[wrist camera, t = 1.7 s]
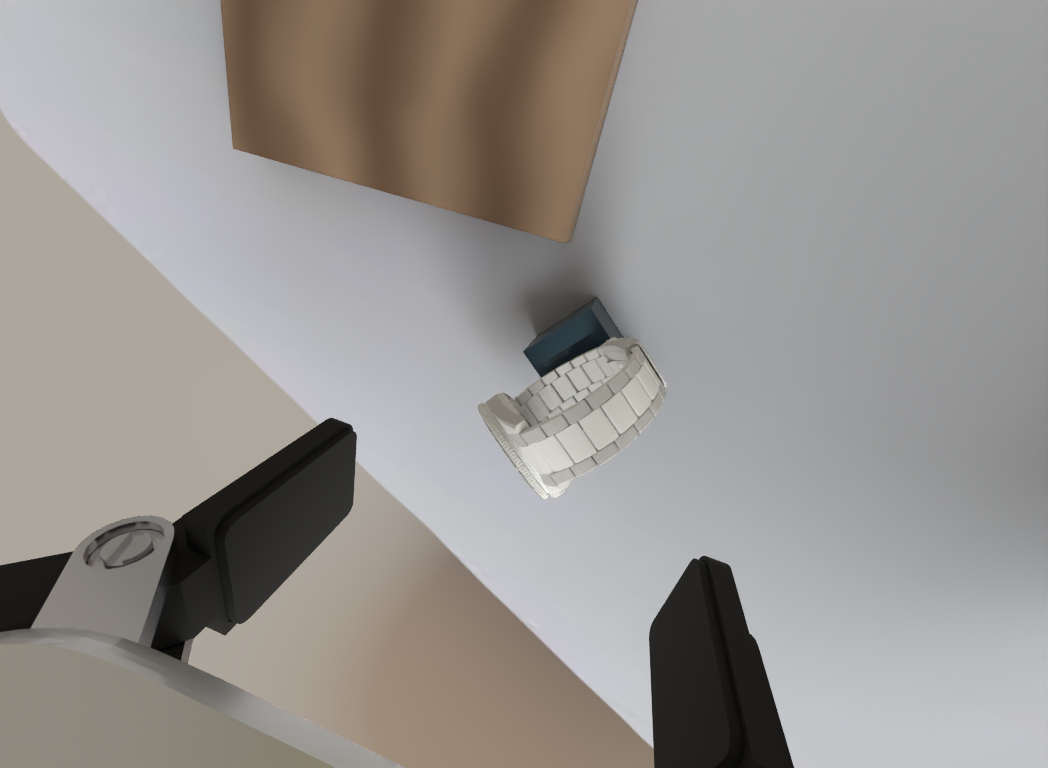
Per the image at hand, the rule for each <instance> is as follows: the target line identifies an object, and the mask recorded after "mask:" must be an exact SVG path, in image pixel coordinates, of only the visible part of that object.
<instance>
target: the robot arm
mask: <svg viewBox="0 0 1048 768" xmlns="http://www.w3.org/2000/svg"><path fill="white" fill-rule="evenodd" d="M356 440H357V435H356V433H355V432H353V427H352V425H350V424H347V423H345V422H342V421H339V420H337V419H334V418H329V419H327V420H325V421H324V422H322V423H321V424H319V425H318V426H316V427H315V428H313V429H312V430H310V431H309V432H307V433H306V434H304V435H303V436H301V437H300V438H298V439H297V440H296V441H294V442H292V443H291V444H289V445H288V446H286V447H285V448H283V449H282V450H280V451H279V452H277V453H276V454H274V455H273V456H271V457H270V458H268V459H267V460H265V461H264V462H262V463H261V464H259V465H258V466H256V467H255V468H253V469H252V470H250V471H249V472H247V473H246V474H244V475H243V476H241V477H240V478H239V479H237V480H235V481H234V482H232V483H231V484H229V485H228V486H226V487H225V488H223V489H222V490H220V491H219V492H217V493H216V494H214V495H213V496H211V497H210V498H208V499H207V500H205V501H204V502H202V503H201V504H199V505H198V506H196V507H195V508H193V509H192V510H190V511H189V512H187V513H186V514H184V515H183V516H182V517H181V518H180V519H178V520H177V521H175V522H174V523H173V524H171V522H170V521H168V520H166V519H164V518H162V517H156V516H137V517H132V518H127V519H122V520H120V521H117V522H114V523H111V524H109V525H106V526H105V527H103V528H101V529H99V530H97V531H95V532H93V533H92V534H91V535H89V536H88V537H87V538H86V539H84V540H83V541H82V542H81V543H80V544H79V545H78V547H77V548H76V549H75V550H74V551H73V552H68V553H63V554H58V555H52V556H47V557H42V558H37V559H32V560H27V561H21V562H16V563H11V564H6V565H1V566H0V768H405V767H403V766H401V765H399V764H397V763H394V762H392V761H391V760H389V759H386V758H384V757H382V756H380V755H378V754H376V753H374V752H372V751H370V750H368V749H366V748H364V747H362V746H360V745H357V744H355V743H353V742H351V741H349V740H347V739H345V738H343V737H341V736H339V735H337V734H335V733H333V732H331V731H328V730H326V729H324V728H322V727H320V726H318V725H316V724H314V723H312V722H310V721H308V720H306V719H304V718H301V717H299V716H297V715H295V714H293V713H291V712H289V711H287V710H285V709H283V708H280V707H278V706H276V705H274V704H272V703H270V702H268V701H266V700H264V699H262V698H259V697H257V696H255V695H253V694H251V693H249V692H247V691H245V690H243V689H241V688H239V687H236V686H234V685H232V684H230V683H228V682H226V681H224V680H222V679H220V678H217V677H215V676H213V675H211V674H209V673H206V672H204V671H202V670H199V669H197V668H195V667H193V666H191V665H188V661H189V656H190V652H191V648H192V643H193V639H194V638H195V637H196V636H197V635H198V634H199V633H200V632H201V631H202V630H203V629H204V628H205V627H208V628H210V629H212V630H214V631H217V632H219V633H221V634H223V635H226V634H227V633H228V632H229V631H230V630H231V629H232V628H233V627H234V626H235V625H236V624H237V623H238V624H241V623H244V622H245V621H247V620H248V619H249V618H250V617H251V616H252V615H253V614H254V613H255V612H256V611H257V610H258V609H259V608H260V607H261V606H262V604H263V603H264V602H265V601H266V600H267V599H268V598H269V597H270V596H271V595H272V594H273V593H274V592H275V591H276V590H277V589H278V588H279V587H280V586H281V584H282V583H283V582H284V581H285V580H286V579H287V578H288V577H289V576H290V575H291V574H292V573H293V572H294V571H295V570H296V569H297V567H299V566H300V564H301V563H302V562H303V561H304V560H305V559H306V558H307V557H308V556H309V555H310V554H311V553H312V552H313V551H314V550H315V549H316V548H317V547H318V545H320V544H321V542H322V541H323V540H324V539H325V538H326V537H327V536H328V535H329V534H330V533H331V532H332V531H333V530H334V529H335V527H337V526H338V525H339V524H340V522H341V521H342V520H343V519H344V518H345V517H346V516H347V515H348V514H349V512H350V510H351V508H352V505H353V495H354V476H355V458H356ZM649 645H650V669H651V693H652V717H653V741H654V766H655V768H794V766H793V763H792V759H791V756H790V753H789V749H788V746H787V742H786V739H785V736H784V732H783V729H782V725H781V722H780V719H779V715H778V712H777V708H776V705H775V702H774V698H773V695H772V691H771V688H770V685H769V681H768V678H767V674H766V671H765V668H764V664H763V661H762V657H761V654H760V651H759V647H758V645H757V642H756V640H755V639H754V637H753V636H752V635H751V634H749V631H748V627H747V624H746V620H745V616H744V613H743V609H742V606H741V602H740V599H739V595H738V592H737V588H736V584H735V581H734V577H733V574H732V570H731V568H730V566H729V565H728V564H726V563H723V562H720V561H718V560H715V559H712V558H709V557H707V556H702V557H701V558H700V559H699V560H697V559H692V561H691V562H690V563H689V565H688V567H687V568H686V570H685V571H684V573H683V575H682V576H681V578H680V579H679V581H678V583H677V584H676V586H675V587H674V589H673V591H672V592H671V594H670V595H669V597H668V598H667V600H666V602H665V603H664V605H663V606H662V608H661V610H660V611H659V613H658V614H657V616H656V618H655V619H654V621H653V623H652V625H651V628H650V634H649Z"/></svg>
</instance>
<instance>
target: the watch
mask: <svg viewBox="0 0 1048 768" xmlns="http://www.w3.org/2000/svg"><path fill="white" fill-rule="evenodd" d="M523 352H524V354H525V355H526V357H527V358H528V360H529V361H530V362H531V364H532V365H533V367H534V368H535V370H536V371H537V372H538V374H539V375H540V377H541V378H540V379H541V380H542V381H541V380H540V379H539V380H538V381H536V382H535V383H533V384H532V385H530V386H529V387H528V388H527V389H526V390H524V391H523V392H522V393H520V394H519V395H518V396H517V397H515V398H514V400H513V399H512V398H511V397H510V396H508V395H507V394H505V393H500V394H497V395H495V396H494V397H492V398H491V399H490V400H488V401H487V402H486V403H485V404H483V403H481V404H480V405H478V410H479V412H480V414H481V416H482V418H483V420H484V422H485V424H486V425H487V427H488V429H489V430H490V432H491V433H492V435H493V436H494V438H495V440H496V441H497V442H498V444H499V445H500V447H501V448H502V450H503V451H504V453H505V454H506V455H507V457H508V458H509V460H510V461H511V462H512V464H513V465H514V466H515V468H516V469H517V470H518V472H519V473H520V474H521V475H522V477H523V478H524V479H525V480H526V482H527V483H528V484H529V485H530V486H531V487H532V489H533V490H534V491H535V492H536V493H537V494H538V495H539V496H540V497H541V498H543V499H546V498H547V497H549V493H550V495H551V496H552V497H554V498H555V497H558V496H560V495H562V493H564V491H565V490H566V487H567V486H569V485H570V484H571V483H570V482H569V480H572V479H574V478H575V477H579V476H581V475H583V474H585V473H587V472H589V471H591V470H593V469H594V468H596V467H597V464H598V465H599V466H600V465H602V464H603V463H605V462H606V461H608V460H609V459H611V458H612V457H613V456H615V455H616V454H617V453H618V452H619V449H620V450H623V449H624V448H625V447H627V446H628V445H629V444H630V443H631V442H632V441H633V440H634V439H636V438H637V437H638V436H639V433H641V432H642V431H643V430H644V429H645V428H646V427H647V426H648V424H649V423H650V422H651V421H652V419H653V418H654V416H655V415H656V414H657V413H658V411H659V409H660V408H661V406H662V404H663V401H664V399H665V388H666V387H667V383H666V382H665V380H664V378H663V377H662V375H661V373H660V372H659V370H658V368H657V367H656V365H655V364H654V362H653V360H652V359H651V357H650V356H649V354H648V353H647V351H646V350H645V348H644V347H643V345H642V344H641V342H639V341H637V340H634V339H630V338H623V336H622V335H621V333H620V332H619V330H618V328H617V327H616V325H615V324H614V322H613V321H612V319H611V318H610V316H609V314H608V313H607V311H606V310H605V308H604V307H603V305H602V303H601V302H600V300H599V299H598V297H597V298H595V299H594V300H592V301H590V302H589V303H587V304H586V305H584V306H583V307H581V308H580V309H578V310H577V311H575V312H573V313H572V314H570V315H569V316H567V317H566V318H564V319H563V320H561V321H560V322H558V323H557V324H555V325H553V326H552V327H550V328H549V329H547V330H546V331H544V332H543V333H541V334H540V335H538V336H537V337H536V338H535V339H534V340H533V341H532V342H531V343H530V345H529V346H528V347H527V348H526V349H525V350H524V351H523ZM542 382H543V383H544V384H543V383H542ZM531 395H532V396H531ZM538 395H539V396H538ZM540 398H541V399H540ZM542 401H543V402H542ZM545 405H546V406H545ZM559 406H560V407H559ZM547 408H548V409H547ZM561 409H562V410H563V411H562V410H561ZM562 413H563V414H562ZM608 419H609V420H610V421H609V420H608ZM610 422H611V423H612V424H611V423H610ZM612 425H613V426H614V427H613V426H612ZM615 429H616V430H615ZM583 430H584V431H585V432H586V434H587V435H588V437H589V438H590V440H591V441H592V442H591V441H590V440H589V438H588V437H587V435H586V434H585V432H584V431H583ZM617 432H618V433H617ZM613 441H614V442H615V443H614V442H613ZM592 443H593V444H594V445H595V447H596V448H597V449H596V448H595V447H594V445H593V444H592ZM615 444H616V445H617V446H616V445H615ZM617 447H618V448H619V449H618V448H617Z"/></svg>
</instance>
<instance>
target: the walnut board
mask: <svg viewBox="0 0 1048 768" xmlns="http://www.w3.org/2000/svg"><path fill="white" fill-rule="evenodd" d="M637 1H638V0H221V12H222V24H223V35H224V47H225V59H226V71H227V83H228V94H229V106H230V118H231V130H232V142H233V149H237V150H240V151H244V152H247V153H251V154H254V155H258V156H261V157H265V158H268V159H272V160H275V161H279V162H282V163H286V164H289V165H293V166H296V167H300V168H303V169H307V170H310V171H314V172H317V173H321V174H324V175H328V176H331V177H335V178H338V179H342V180H345V181H349V182H352V183H356V184H359V185H363V186H366V187H370V188H373V189H377V190H380V191H384V192H387V193H391V194H394V195H398V196H401V197H405V198H409V199H412V200H416V201H419V202H423V203H426V204H430V205H433V206H437V207H440V208H444V209H447V210H451V211H454V212H458V213H461V214H465V215H468V216H472V217H475V218H479V219H482V220H486V221H489V222H493V223H496V224H500V225H503V226H507V227H510V228H514V229H517V230H521V231H524V232H528V233H531V234H535V235H538V236H542V237H545V238H549V239H552V240H556V241H559V242H563V243H566V242H569V241H571V240H572V236H573V232H574V229H575V225H576V221H577V218H578V214H579V211H580V207H581V203H582V200H583V196H584V193H585V189H586V185H587V182H588V178H589V175H590V171H591V167H592V164H593V160H594V156H595V153H596V149H597V146H598V142H599V138H600V135H601V131H602V128H603V124H604V120H605V117H606V113H607V110H608V106H609V102H610V99H611V95H612V91H613V88H614V84H615V81H616V77H617V73H618V70H619V66H620V63H621V59H622V55H623V52H624V48H625V45H626V41H627V37H628V34H629V30H630V26H631V23H632V19H633V16H634V12H635V8H636V5H637Z"/></svg>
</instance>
